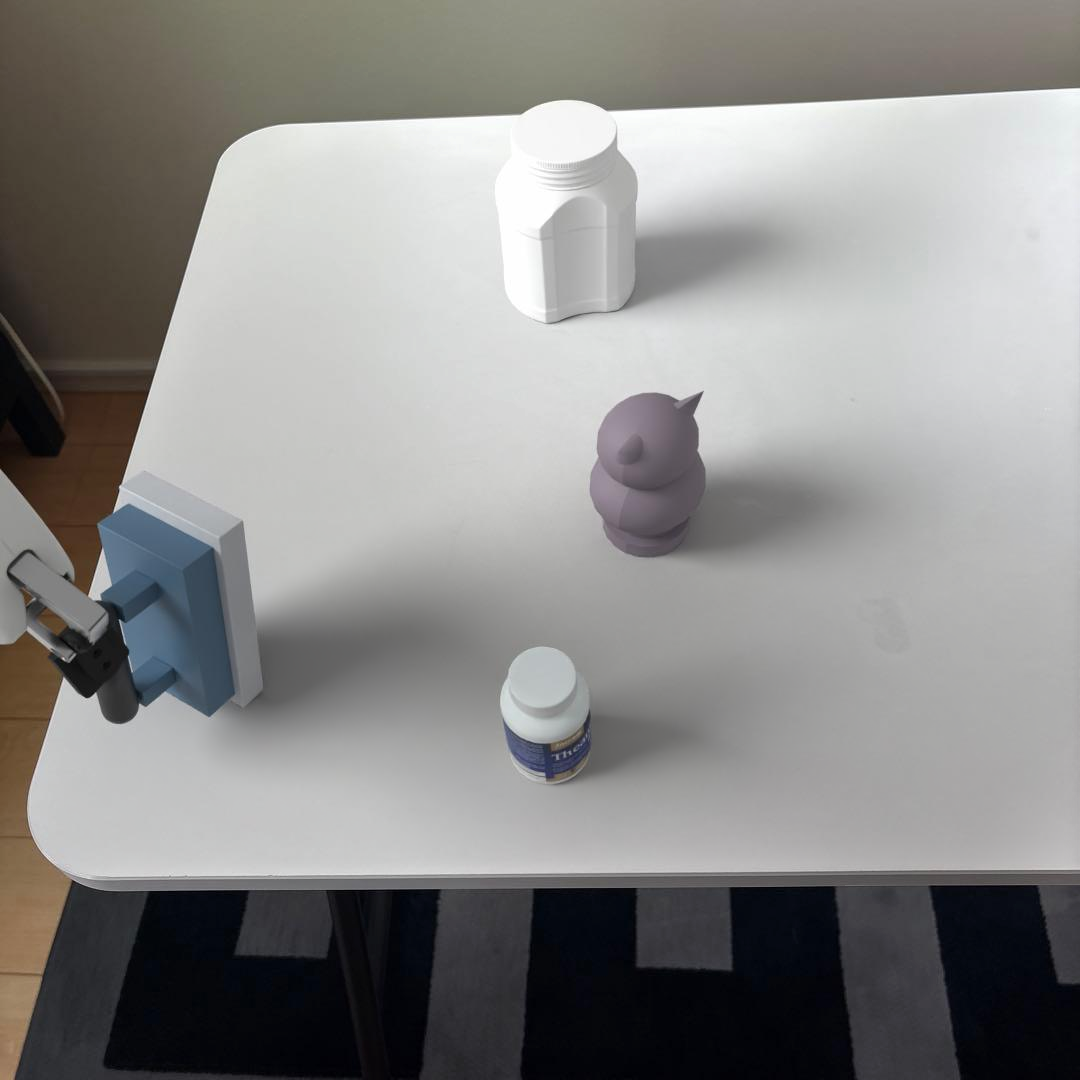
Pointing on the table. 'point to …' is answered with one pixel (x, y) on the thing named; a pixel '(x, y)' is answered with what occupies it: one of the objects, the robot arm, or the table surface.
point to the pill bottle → (546, 716)
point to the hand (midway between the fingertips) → (40, 635)
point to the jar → (567, 213)
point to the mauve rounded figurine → (648, 472)
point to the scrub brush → (177, 602)
